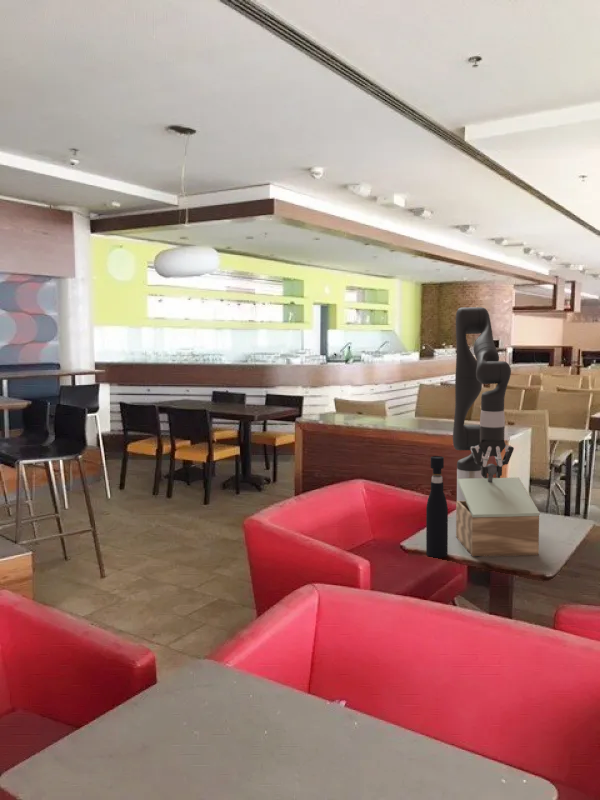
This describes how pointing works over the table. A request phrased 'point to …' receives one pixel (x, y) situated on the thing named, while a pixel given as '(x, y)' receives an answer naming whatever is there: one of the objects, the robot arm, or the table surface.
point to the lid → (497, 496)
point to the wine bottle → (437, 513)
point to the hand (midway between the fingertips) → (491, 477)
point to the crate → (497, 533)
